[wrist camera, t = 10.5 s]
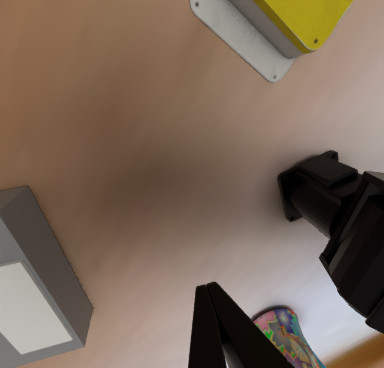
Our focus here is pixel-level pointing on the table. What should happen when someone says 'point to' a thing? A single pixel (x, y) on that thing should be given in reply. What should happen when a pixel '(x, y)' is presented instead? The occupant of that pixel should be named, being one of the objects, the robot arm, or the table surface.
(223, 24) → the emergency button
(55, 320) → the box
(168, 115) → the table surface
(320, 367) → the mug
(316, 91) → the table surface
